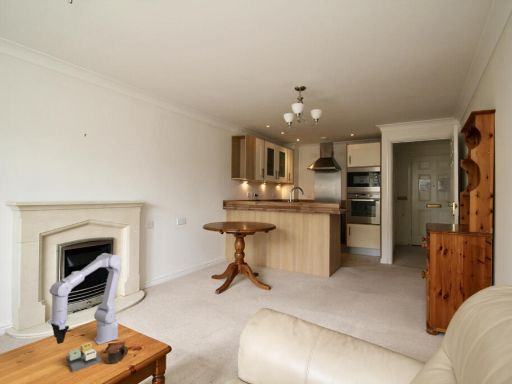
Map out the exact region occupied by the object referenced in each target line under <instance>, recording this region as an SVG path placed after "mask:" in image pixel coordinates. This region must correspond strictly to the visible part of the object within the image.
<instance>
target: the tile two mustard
mask: <svg viewBox="0 0 512 384" xmlns="http://www.w3.org/2000/svg"><path fill="white" fill-rule="evenodd" d="M92 348H94V347H93V344H92V342H91V341H88V342H84V343H82V344H80V351H82V353H83V352H85V351H88V350H91V349H92Z"/></svg>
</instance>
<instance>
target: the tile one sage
mask: <svg viewBox="0 0 512 384" xmlns="http://www.w3.org/2000/svg"><path fill="white" fill-rule="evenodd" d="M80 351H81V349H80V348H77V349H73V350H71V351H68V353H67V356H68V358H69V359H70V361H71V360H74V359H77V358H80V357H81V352H80Z"/></svg>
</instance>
